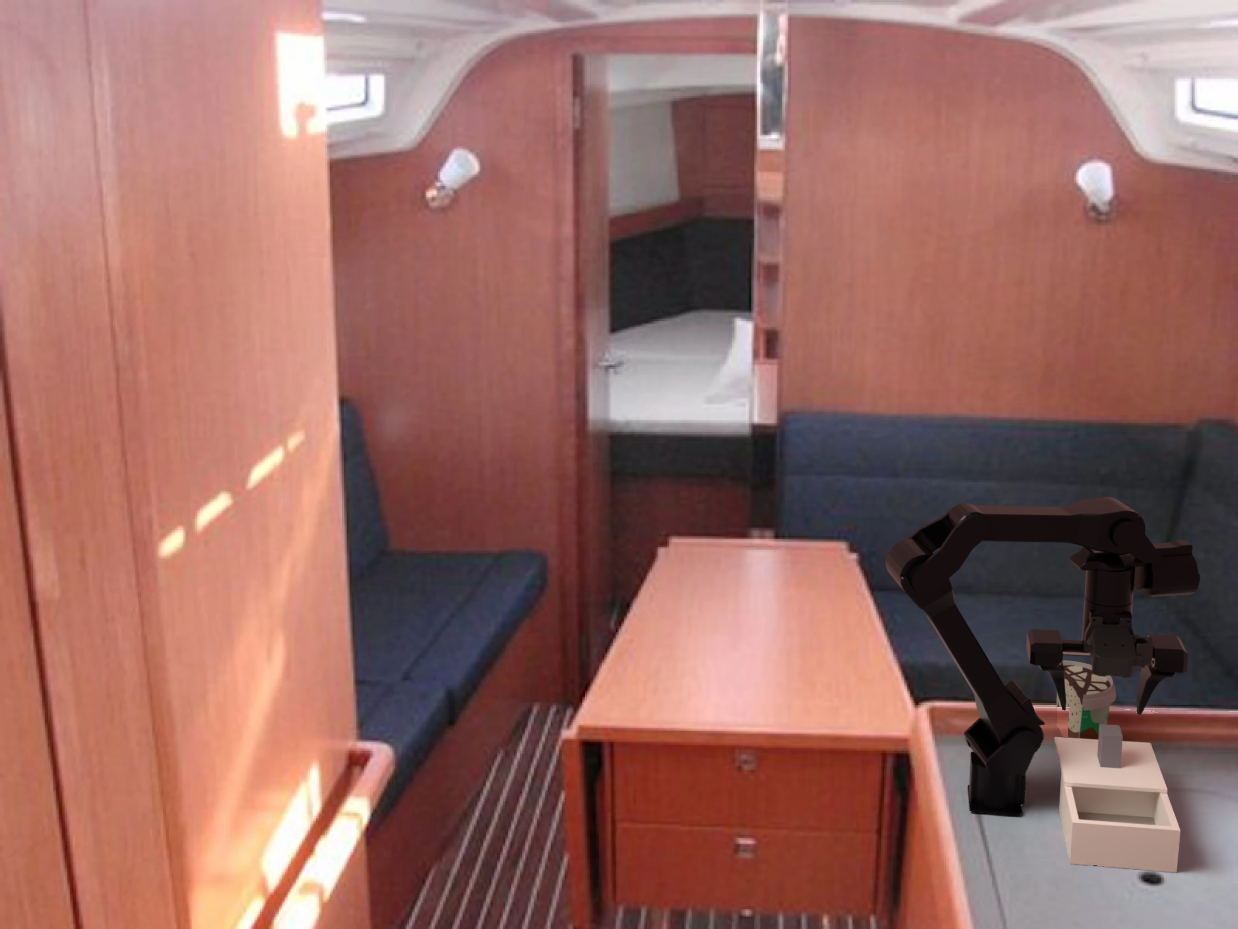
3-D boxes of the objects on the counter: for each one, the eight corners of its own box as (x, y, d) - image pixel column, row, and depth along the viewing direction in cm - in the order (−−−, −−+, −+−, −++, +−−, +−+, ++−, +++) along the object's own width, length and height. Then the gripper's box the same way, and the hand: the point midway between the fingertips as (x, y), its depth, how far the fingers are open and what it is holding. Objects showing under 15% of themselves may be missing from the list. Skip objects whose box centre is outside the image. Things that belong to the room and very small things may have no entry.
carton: (1069, 863, 156) (1072, 822, 155) (1059, 811, 167) (1061, 772, 166) (1176, 872, 154) (1180, 830, 152) (1158, 818, 165) (1161, 779, 163)
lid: (1064, 785, 162) (1066, 749, 161) (1054, 740, 174) (1056, 706, 172) (1167, 793, 160) (1170, 756, 159) (1150, 746, 171) (1152, 711, 170)
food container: (1125, 761, 179) (1130, 695, 176) (1080, 763, 179) (1084, 696, 176) (1095, 720, 191) (1099, 657, 188) (1052, 721, 191) (1056, 658, 188)
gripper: (1036, 619, 158) (1030, 736, 162) (1201, 627, 154) (1191, 746, 158) (1028, 586, 168) (1023, 696, 173) (1183, 592, 164) (1173, 705, 169)
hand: (1100, 711), depth 168 cm, fingers open, 9 cm apart
